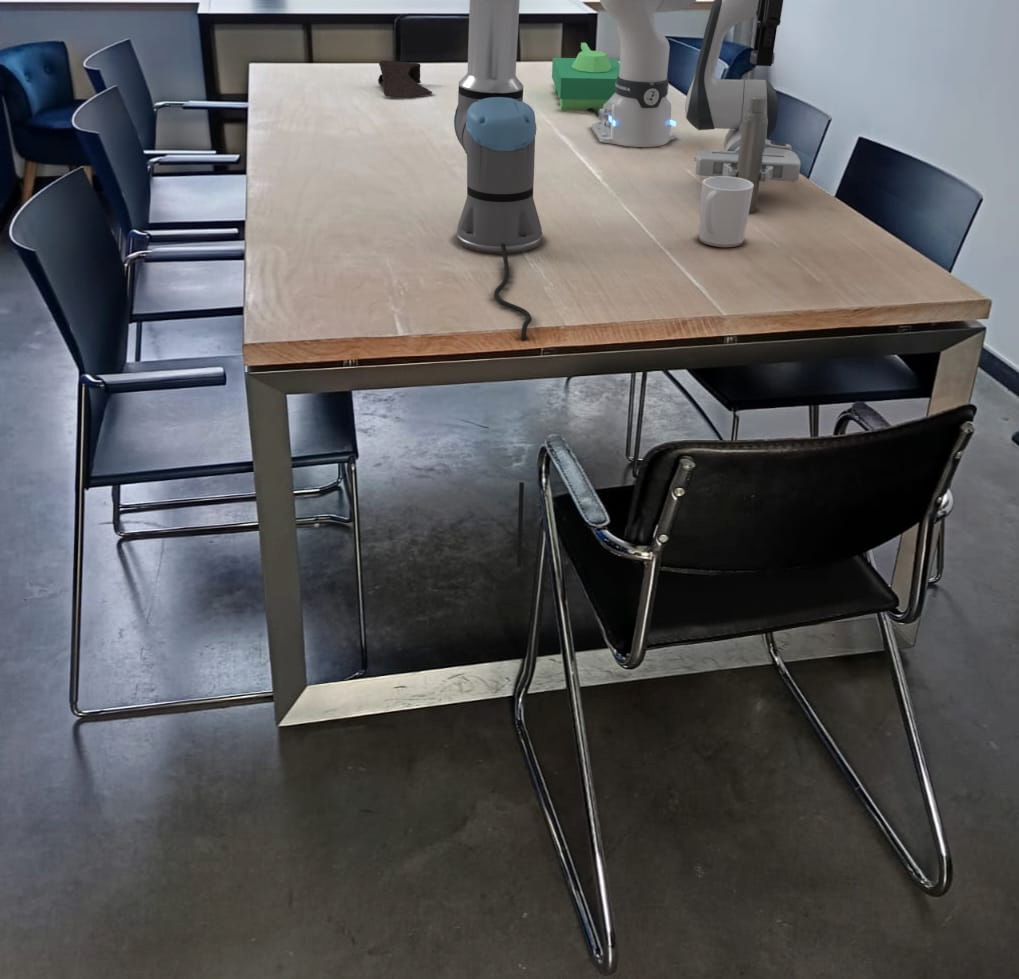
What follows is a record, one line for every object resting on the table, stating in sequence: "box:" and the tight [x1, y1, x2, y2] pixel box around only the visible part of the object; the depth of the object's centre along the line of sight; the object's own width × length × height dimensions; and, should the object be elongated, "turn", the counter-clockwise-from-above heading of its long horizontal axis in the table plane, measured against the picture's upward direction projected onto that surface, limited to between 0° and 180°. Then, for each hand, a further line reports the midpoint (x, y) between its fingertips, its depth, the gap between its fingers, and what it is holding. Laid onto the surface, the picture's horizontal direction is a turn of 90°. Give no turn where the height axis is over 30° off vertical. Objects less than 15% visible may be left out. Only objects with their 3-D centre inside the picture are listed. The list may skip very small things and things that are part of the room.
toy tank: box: [551, 42, 620, 111], centre depth 293 cm, size 18×12×35 cm
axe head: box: [377, 59, 433, 99], centre depth 299 cm, size 18×8×15 cm
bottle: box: [736, 96, 768, 214], centre depth 209 cm, size 5×5×21 cm
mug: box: [698, 176, 754, 248], centre depth 195 cm, size 11×9×10 cm
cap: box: [749, 50, 776, 65], centre depth 200 cm, size 4×4×2 cm
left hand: (761, 62), depth 200 cm, fingers closed on cap, 4 cm apart
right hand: (748, 176), depth 210 cm, fingers closed on bottle, 4 cm apart
